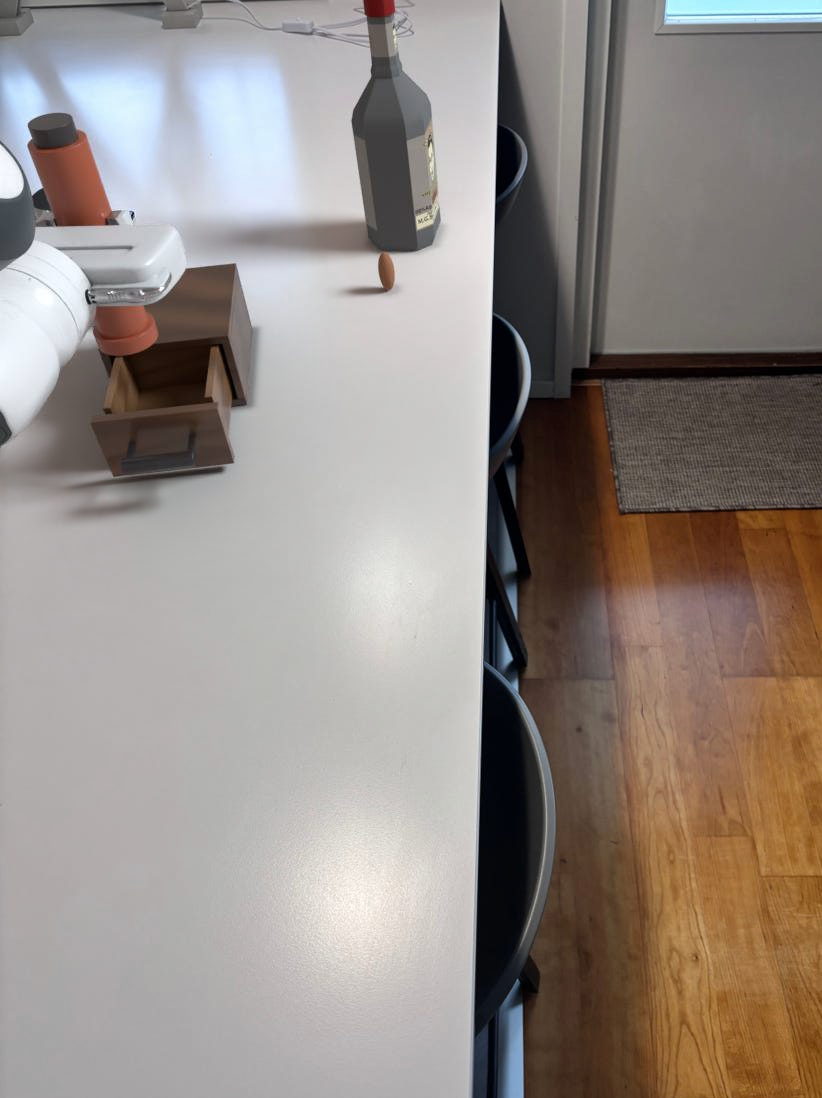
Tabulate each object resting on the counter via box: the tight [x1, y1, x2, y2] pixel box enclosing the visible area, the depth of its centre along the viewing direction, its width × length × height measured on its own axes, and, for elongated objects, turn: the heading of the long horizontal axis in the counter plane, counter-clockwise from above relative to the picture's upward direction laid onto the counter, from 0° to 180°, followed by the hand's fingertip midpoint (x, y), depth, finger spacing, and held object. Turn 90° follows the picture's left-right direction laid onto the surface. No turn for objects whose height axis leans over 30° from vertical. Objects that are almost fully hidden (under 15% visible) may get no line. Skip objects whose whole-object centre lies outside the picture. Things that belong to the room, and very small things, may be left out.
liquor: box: [350, 0, 442, 252], centre depth 124 cm, size 9×9×30 cm
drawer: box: [89, 344, 236, 478], centre depth 103 cm, size 19×12×7 cm, turn 6°
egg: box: [377, 251, 396, 291], centre depth 124 cm, size 2×2×5 cm
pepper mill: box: [26, 112, 158, 356], centre depth 88 cm, size 6×6×20 cm
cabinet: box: [97, 262, 254, 407], centre depth 112 cm, size 16×14×9 cm
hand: (89, 219), depth 87 cm, fingers closed on pepper mill, 5 cm apart
